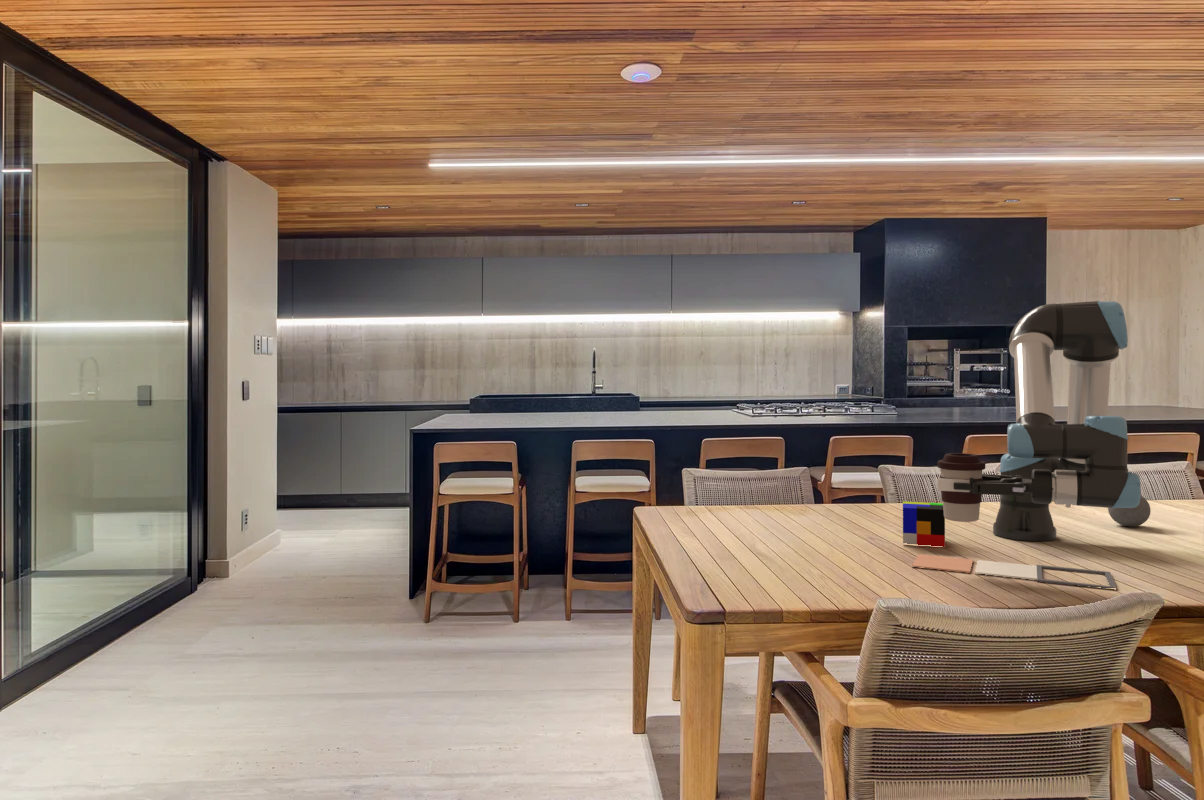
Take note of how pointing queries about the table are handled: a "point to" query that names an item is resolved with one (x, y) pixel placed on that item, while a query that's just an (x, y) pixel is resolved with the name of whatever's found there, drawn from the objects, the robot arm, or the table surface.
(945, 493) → the coffee cup
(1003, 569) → the game board
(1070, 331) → the robot arm
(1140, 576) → the table surface
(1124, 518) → the decorative ball
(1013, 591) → the table surface
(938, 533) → the puzzle toy
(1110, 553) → the table surface
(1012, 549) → the table surface
